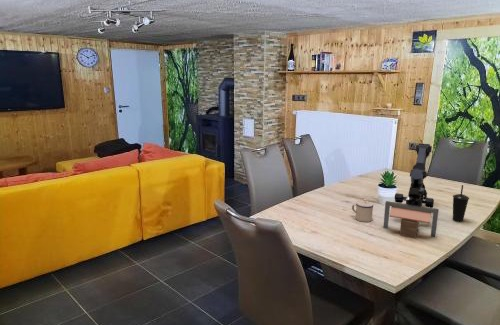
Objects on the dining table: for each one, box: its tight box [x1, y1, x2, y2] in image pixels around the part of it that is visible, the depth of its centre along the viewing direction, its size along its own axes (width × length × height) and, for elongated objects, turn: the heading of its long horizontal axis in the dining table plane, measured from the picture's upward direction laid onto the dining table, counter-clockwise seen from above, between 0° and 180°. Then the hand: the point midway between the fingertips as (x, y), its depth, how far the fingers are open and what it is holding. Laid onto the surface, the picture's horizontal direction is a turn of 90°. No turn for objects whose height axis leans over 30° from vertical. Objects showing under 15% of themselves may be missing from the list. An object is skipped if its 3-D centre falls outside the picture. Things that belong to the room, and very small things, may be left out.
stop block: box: [399, 219, 420, 239], centre depth 177 cm, size 14×7×8 cm, turn 150°
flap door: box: [389, 206, 432, 224], centre depth 173 cm, size 1×18×6 cm
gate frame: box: [383, 200, 439, 238], centre depth 176 cm, size 2×24×14 cm, turn 60°
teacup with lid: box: [351, 198, 374, 223], centre depth 194 cm, size 12×9×12 cm
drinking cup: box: [452, 184, 470, 223], centre depth 189 cm, size 8×8×20 cm
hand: (411, 214), depth 182 cm, fingers closed
